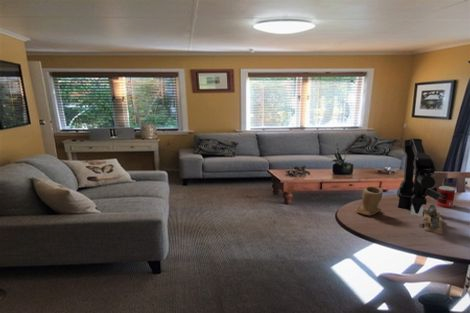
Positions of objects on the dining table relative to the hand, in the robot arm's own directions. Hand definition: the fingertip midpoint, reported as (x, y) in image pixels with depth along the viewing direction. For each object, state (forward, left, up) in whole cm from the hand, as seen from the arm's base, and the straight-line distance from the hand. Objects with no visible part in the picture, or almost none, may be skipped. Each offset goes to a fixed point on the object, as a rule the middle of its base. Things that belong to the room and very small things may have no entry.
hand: (416, 211), depth 143 cm
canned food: (+15, +37, -6) cm, 40 cm away
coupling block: (0, 0, -1) cm, 1 cm away
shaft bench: (+8, +6, -6) cm, 11 cm away
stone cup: (-21, +2, -6) cm, 23 cm away
